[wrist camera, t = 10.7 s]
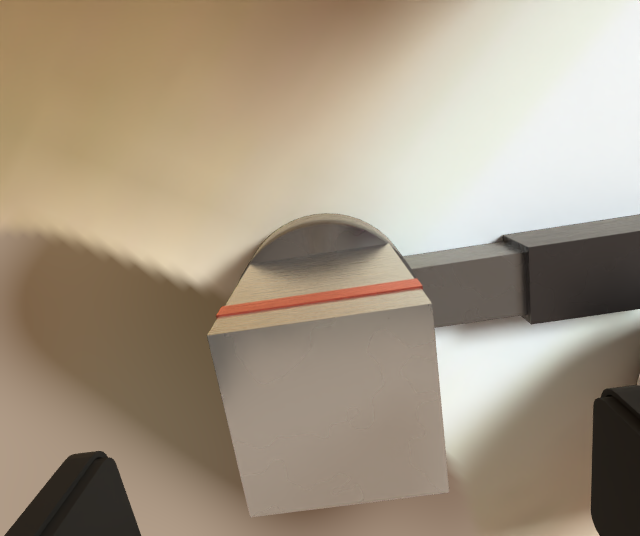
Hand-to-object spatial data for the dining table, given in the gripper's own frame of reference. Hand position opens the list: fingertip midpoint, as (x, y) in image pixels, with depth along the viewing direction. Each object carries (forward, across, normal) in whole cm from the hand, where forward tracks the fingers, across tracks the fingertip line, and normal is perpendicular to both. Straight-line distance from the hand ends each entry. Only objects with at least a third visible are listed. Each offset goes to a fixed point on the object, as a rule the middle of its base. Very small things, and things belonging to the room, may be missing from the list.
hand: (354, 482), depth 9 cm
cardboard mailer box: (+10, +1, +1) cm, 10 cm away
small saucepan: (+13, -6, +1) cm, 14 cm away
